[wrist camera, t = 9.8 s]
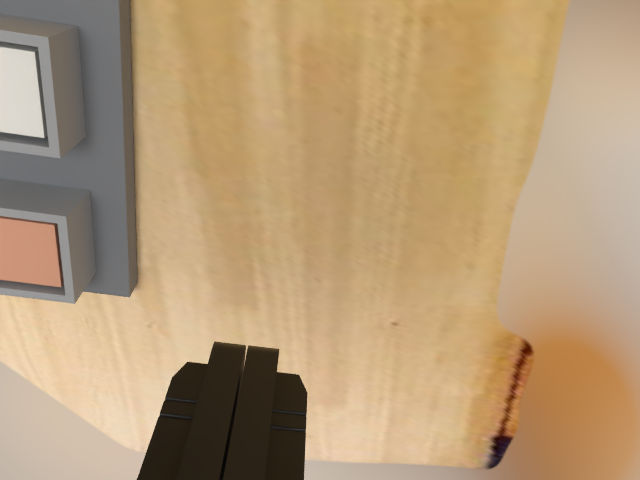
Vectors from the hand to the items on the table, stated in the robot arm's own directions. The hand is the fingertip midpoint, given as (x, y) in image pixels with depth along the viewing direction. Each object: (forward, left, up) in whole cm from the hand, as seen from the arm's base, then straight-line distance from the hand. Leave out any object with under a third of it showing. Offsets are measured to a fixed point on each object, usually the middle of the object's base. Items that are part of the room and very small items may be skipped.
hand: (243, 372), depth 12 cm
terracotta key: (+13, -17, -23) cm, 32 cm away
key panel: (+7, -17, -27) cm, 33 cm away
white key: (+2, -17, -23) cm, 29 cm away
